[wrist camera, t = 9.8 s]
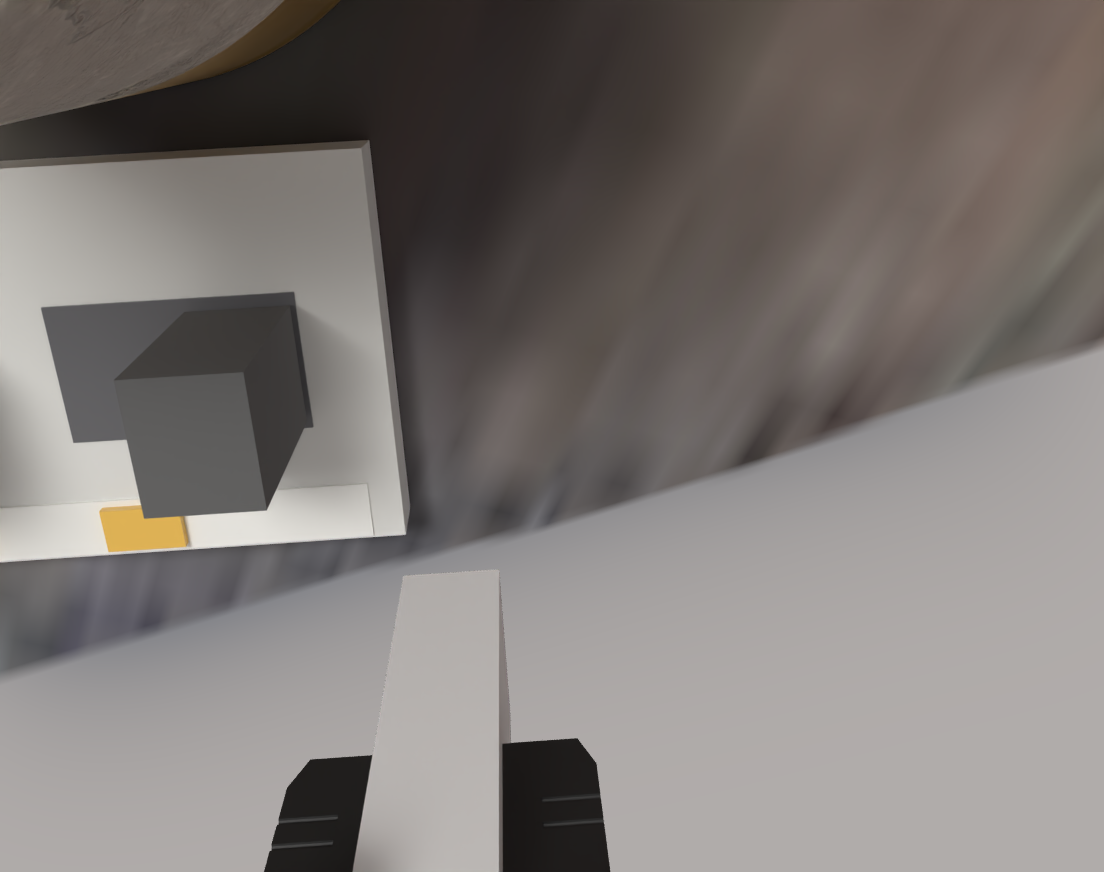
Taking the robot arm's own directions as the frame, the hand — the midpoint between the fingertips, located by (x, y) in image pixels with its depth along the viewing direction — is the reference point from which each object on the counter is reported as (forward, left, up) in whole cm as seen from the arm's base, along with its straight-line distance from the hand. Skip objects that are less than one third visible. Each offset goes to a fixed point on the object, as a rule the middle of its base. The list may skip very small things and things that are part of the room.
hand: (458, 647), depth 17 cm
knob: (-5, -5, -15) cm, 17 cm away
